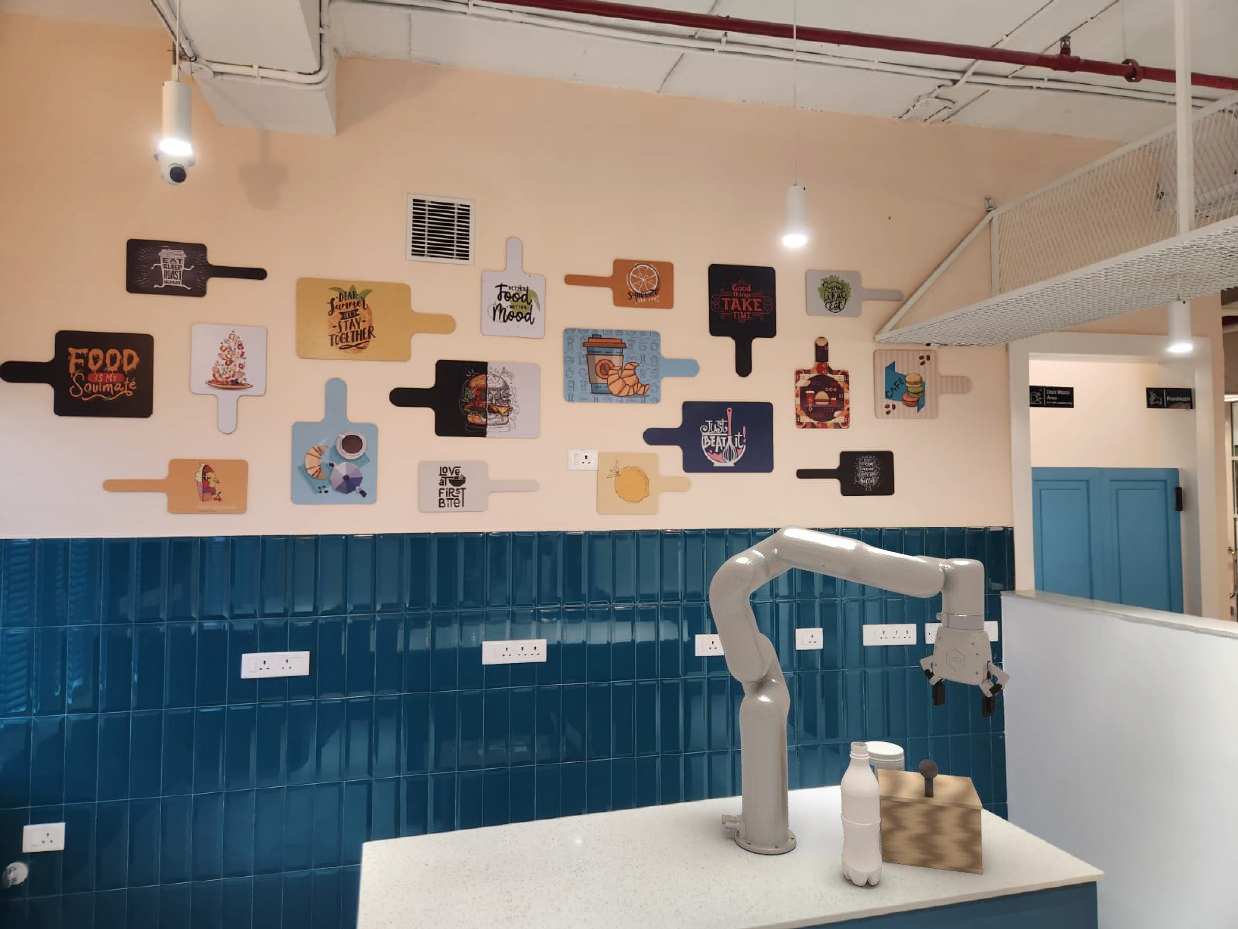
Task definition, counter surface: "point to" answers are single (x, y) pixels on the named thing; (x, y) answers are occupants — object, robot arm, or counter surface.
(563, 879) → the counter surface
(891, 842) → the wooden box
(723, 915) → the counter surface
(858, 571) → the robot arm
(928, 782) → the lid
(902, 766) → the supplement tub
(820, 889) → the counter surface
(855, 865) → the water bottle
